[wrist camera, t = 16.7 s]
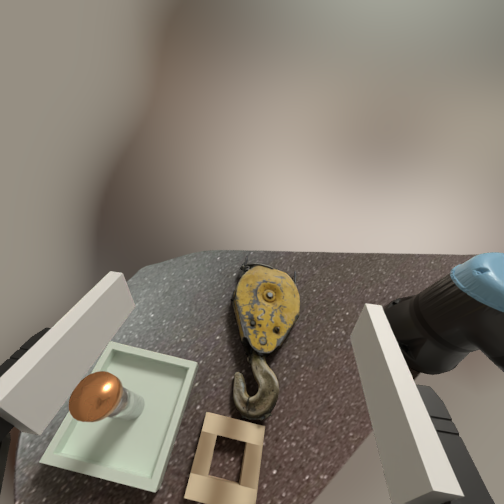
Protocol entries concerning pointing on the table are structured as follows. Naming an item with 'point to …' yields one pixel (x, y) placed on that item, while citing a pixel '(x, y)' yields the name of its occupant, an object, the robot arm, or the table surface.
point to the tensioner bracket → (200, 483)
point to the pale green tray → (129, 421)
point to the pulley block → (262, 331)
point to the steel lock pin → (104, 399)
